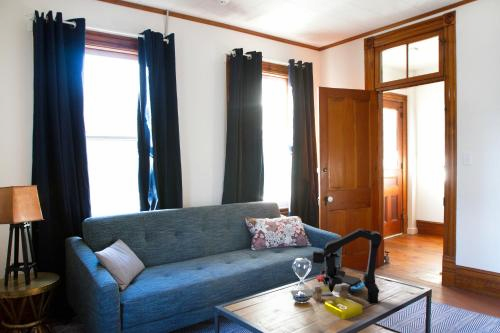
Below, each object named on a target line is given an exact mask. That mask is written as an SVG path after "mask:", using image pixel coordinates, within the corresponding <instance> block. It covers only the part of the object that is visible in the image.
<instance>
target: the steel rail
mask: <svg viewBox="0 0 500 333" xmlns="http://www.w3.org/2000/svg"><path fill="white" fill-rule="evenodd" d="M344 286H348V285H347V284H346V283H342V284H335V287H334V289H333V292H338V291H342V290H343V287H344ZM316 288H321V289H322V292H328V291H330V289H329V286H328V284H324V283H323V284H312V289H313V291H314V292H316Z"/></svg>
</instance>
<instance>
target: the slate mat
mask: <svg viewBox="0 0 500 333" xmlns="http://www.w3.org/2000/svg"><path fill="white" fill-rule="evenodd" d="M299 291H301V292H303V293H305V294H306V295H307V296H309V297H308V298H312V297H313V288H312V289H309V288H308V289H297V290H290V293H291V295H292V296H293V297H294V296H295V295H296V294H298V292H299ZM333 295H334V294H333V292H330V291H328V292H322V297H328V296H333Z"/></svg>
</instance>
